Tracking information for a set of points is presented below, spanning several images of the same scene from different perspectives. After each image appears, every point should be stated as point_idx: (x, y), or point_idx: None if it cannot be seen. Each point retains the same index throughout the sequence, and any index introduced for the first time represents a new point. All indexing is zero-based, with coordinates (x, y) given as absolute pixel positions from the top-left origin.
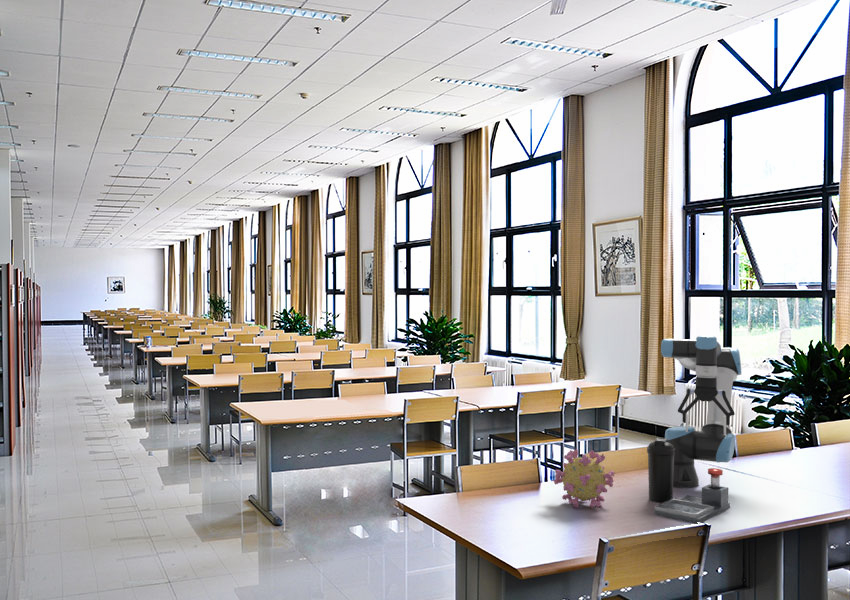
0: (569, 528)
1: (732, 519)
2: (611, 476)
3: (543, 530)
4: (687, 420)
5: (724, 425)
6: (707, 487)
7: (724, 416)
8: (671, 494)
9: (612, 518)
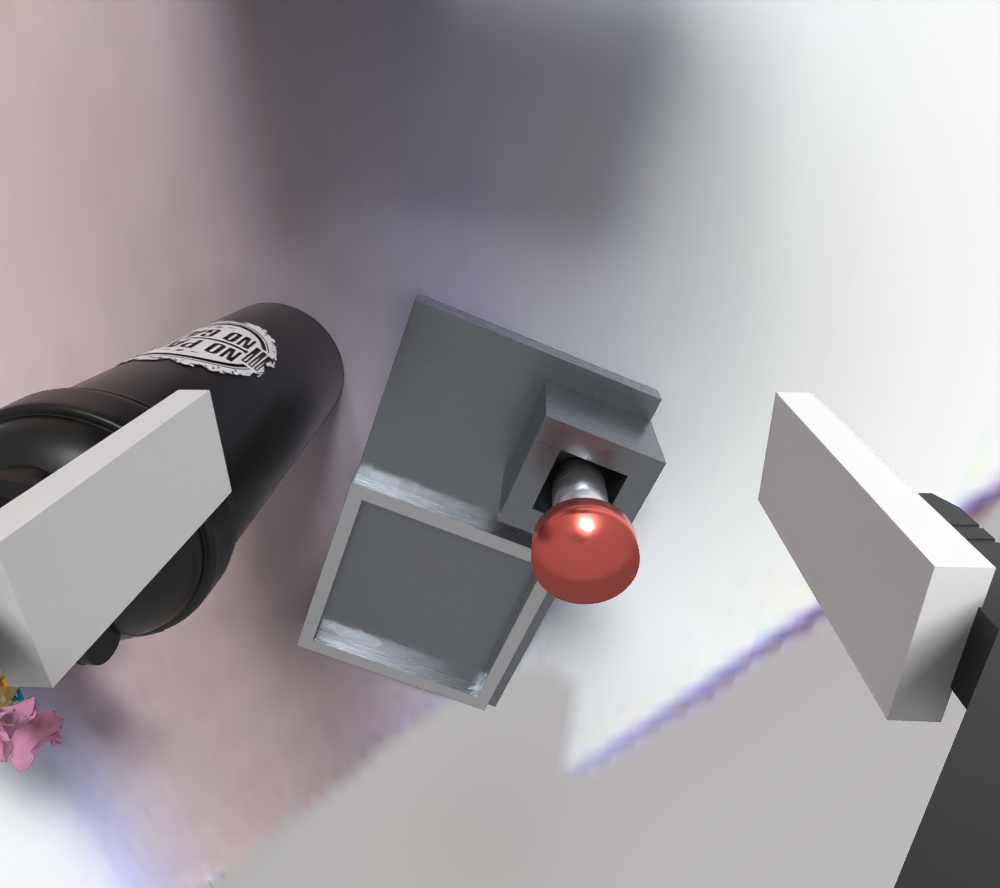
0: (94, 836)
1: (643, 598)
2: (13, 748)
3: (37, 866)
4: (123, 604)
5: (816, 586)
6: (531, 504)
7: (919, 658)
8: (328, 409)
9: (173, 714)
